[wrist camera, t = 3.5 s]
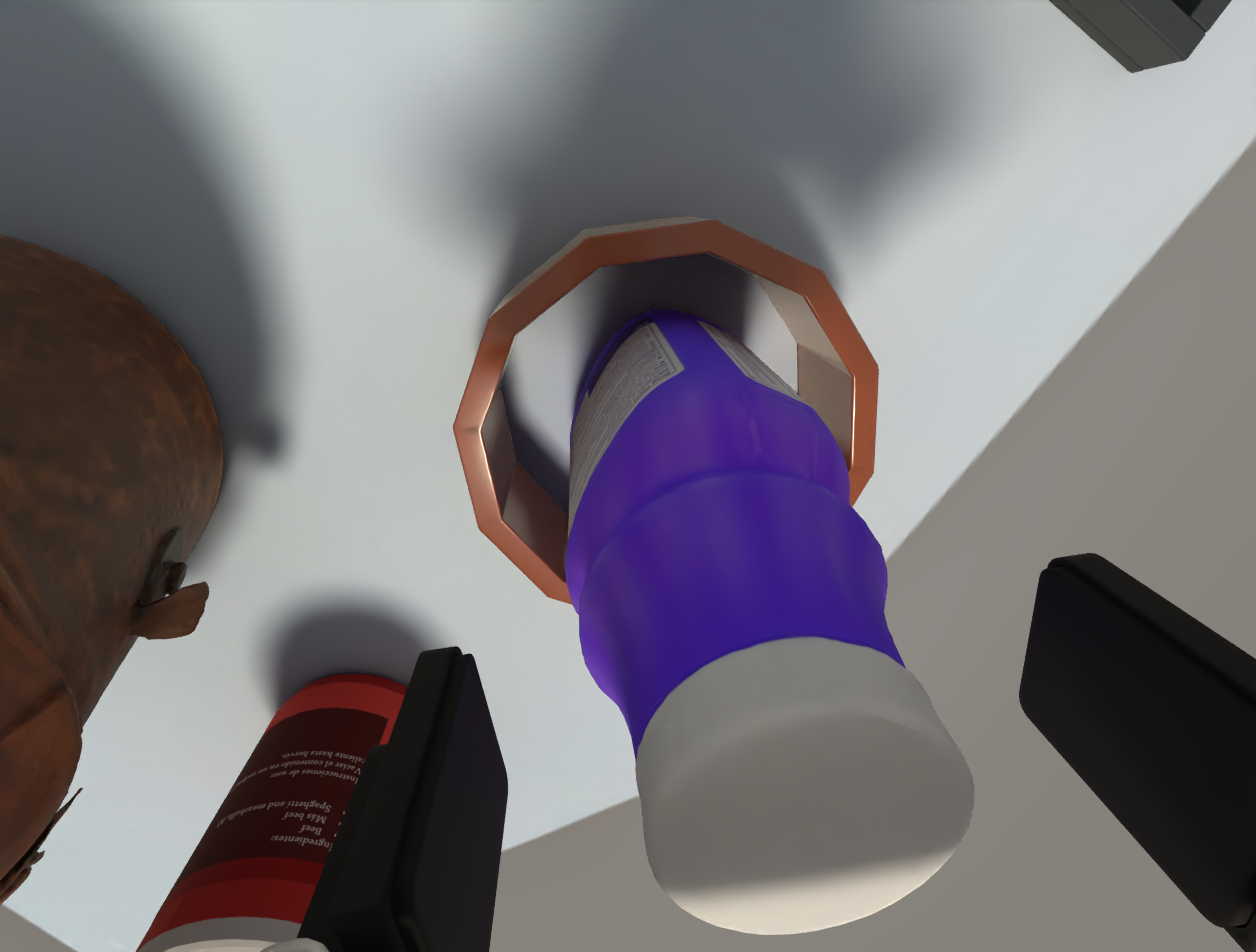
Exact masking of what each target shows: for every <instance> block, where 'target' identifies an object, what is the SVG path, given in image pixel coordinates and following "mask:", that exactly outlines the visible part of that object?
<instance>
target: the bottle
mask: <svg viewBox="0 0 1256 952" xmlns="http://www.w3.org/2000/svg"><path fill="white" fill-rule="evenodd" d="M849 496H850V481H849V475H848V470H847V466H846V462H845V459H844V456H843V454H842V452H841V450H840V448H839V446H838V444H837V442H836V440H835V439H834V437H833V435H832V434H831V432H830V430H829V429H828V427H827V426H826V425H825V423H824V422H823V421H822V419H821V418H820V416H819V415H818V413H817V412H816V411H815V410H814V409H813V408H812V407H811V406H810V405H809V404H808V403H807V402H805V401H804V400H803V399H802V398H801V397H800V396H799V395H798V394H797V393H796V392H795V391H794V390H793V389H792V388H791V387H789V386H788V385H787V384H786V383H785V382H784V381H783V380H782V379H781V378H780V377H779V376H777V375H776V374H775V373H774V372H773V371H772V370H771V369H770V368H769V367H768V366H766V365H765V364H764V363H763V362H762V361H761V360H760V359H759V358H758V357H757V356H756V355H755V354H754V353H752V352H751V351H750V350H749V349H748V348H747V347H746V346H745V345H744V344H743V343H742V342H740V341H739V340H738V339H736V338H735V337H733V336H731V335H730V334H728V333H727V332H726V331H725V330H723V329H722V328H721V327H720V326H719V325H716V324H714V323H712V322H710V321H708V320H706V319H704V318H702V317H700V316H698V315H694V314H690V313H683V312H680V311H677V310H671V309H656V310H650V311H647V312H643V313H641V314H639V315H637V316H635V317H633V318H632V319H630V320H628V321H627V322H626V323H625V324H624V325H623V326H622V327H621V328H620V329H619V330H618V331H617V332H616V333H615V334H614V335H613V337H612V338H611V339H610V340H609V342H608V343H607V345H606V346H605V347H604V349H603V350H602V352H601V353H600V355H599V357H598V358H597V360H596V362H595V364H594V366H593V368H592V369H591V371H590V373H589V375H588V378H587V380H586V382H585V385H584V387H583V389H582V392H581V395H580V398H579V400H578V403H577V406H576V409H575V413H574V417H573V421H572V426H571V433H570V498H569V526H568V543H567V550H566V559H565V573H566V582H567V587H568V591H569V594H570V598H571V601H572V604H573V606H574V608H575V610H576V613H577V614H579V636H580V642H581V647H582V654H583V656H584V660H585V664H586V666H587V668H588V670H589V671H590V673H591V675H592V677H593V678H594V680H595V682H596V683H597V685H598V687H599V688H600V689H601V690H602V691H603V692H604V693H605V694H606V695H607V696H608V697H610V698H611V699H612V700H613V701H614V702H615V703H616V704H617V705H618V707H619V708H620V710H621V712H622V714H623V715H624V718H625V720H626V723H627V725H628V728H629V731H630V734H631V737H632V743H633V748H634V754H635V759H636V781H637V786H638V791H639V795H640V799H641V806H642V817H643V829H644V838H645V844H646V851H647V856H648V861H649V864H650V866H651V869H652V872H653V874H654V877H655V878H656V880H657V882H658V883H659V885H660V887H661V888H662V889H663V890H664V891H665V892H666V893H667V895H668V896H669V897H670V898H671V899H672V900H673V901H674V902H676V903H677V904H678V905H679V906H680V907H681V908H682V909H684V910H685V911H687V912H688V913H690V914H691V915H693V916H695V917H697V918H700V919H702V920H703V921H705V922H708V923H710V924H713V925H715V926H719V927H723V928H727V929H732V930H736V931H740V932H744V933H753V934H761V935H773V934H794V933H804V932H811V931H816V930H821V929H825V928H829V927H833V926H838V925H842V924H845V923H848V922H851V921H854V920H857V919H860V918H863V917H866V916H868V915H871V914H873V913H875V912H877V911H879V910H881V909H883V908H885V907H887V906H889V905H891V904H893V903H895V902H896V901H898V900H899V899H901V898H903V897H904V896H906V895H907V894H908V893H910V892H912V891H913V890H914V889H916V888H917V887H919V886H921V885H922V884H923V883H924V882H925V881H927V880H928V879H929V878H930V877H931V876H932V875H933V874H934V873H935V872H937V871H938V870H939V868H940V867H941V866H942V865H943V864H944V863H945V862H946V861H947V860H948V859H949V858H950V856H951V855H952V854H953V853H954V851H955V849H956V848H957V846H958V844H959V843H960V841H961V839H962V837H963V836H964V834H965V832H966V831H967V829H968V827H969V823H970V820H971V816H972V811H973V807H974V784H973V779H972V775H971V773H970V770H969V767H968V765H967V762H966V760H965V758H964V756H963V754H962V753H961V751H960V750H959V748H958V747H957V745H956V744H955V742H954V741H953V739H952V737H951V736H950V734H949V733H948V731H947V730H946V728H945V727H944V725H943V724H942V722H941V720H940V718H939V717H938V715H937V713H936V711H935V709H934V708H933V706H932V703H931V701H930V699H929V696H928V694H927V693H926V691H925V689H924V688H923V686H922V685H921V683H920V682H919V681H918V680H917V679H916V677H915V676H914V675H912V674H911V673H910V672H909V671H908V670H907V669H906V667H905V665H904V663H903V661H902V659H901V657H900V655H899V653H898V650H897V648H896V646H895V644H894V641H893V638H892V636H891V634H890V632H889V630H888V627H887V623H886V619H885V614H884V607H885V600H886V593H887V586H888V583H887V568H886V564H885V559H884V556H883V553H882V549H881V546H880V544H879V543H878V541H877V540H876V538H875V537H874V535H873V534H872V532H871V531H870V529H869V528H868V526H867V524H866V523H865V521H864V520H863V519H862V518H861V517H860V516H859V515H858V513H857V512H856V511H855V510H854V509H853V508H852V507H851V505H850V500H849Z"/></svg>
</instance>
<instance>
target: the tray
mask: <svg viewBox="0 0 1256 952" xmlns="http://www.w3.org/2000/svg"><path fill="white" fill-rule="evenodd" d="M1050 1H1051V2H1052V3H1053V4H1054V5H1055V6H1057V7H1058V8H1059V9H1060V10H1061V11H1062V12H1063V13H1064V14H1066V15H1067V16H1068V17H1069V18H1070V19H1071V20H1072V21H1073V22H1075V23H1076V24H1077V25H1078V26H1079V27H1080V28H1081V29H1082V30H1084V31H1085V32H1086V33H1087V34H1088V35H1089V36H1090V37H1091V38H1093V39H1094V40H1095V41H1096V42H1097V43H1098V44H1099V45H1100V46H1102V47H1103V48H1104V49H1105V50H1106V51H1107V52H1108V53H1109V54H1111V55H1112V56H1113V57H1114V58H1115V59H1116V60H1117V61H1118V62H1120V63H1121V64H1122V65H1123V66H1124V67H1125V68H1126V69H1127V70H1129V71H1130V72H1131V73H1134V72H1138V71H1143V70H1144V69H1150V68H1154V67H1159V66H1163V65H1167V64H1171V63H1176V62H1180V61H1184V60H1186V59H1187V58H1188V57H1189V56H1190V54H1191V53H1192V52H1193V50H1194V49H1195V48H1196V46H1197V45H1198V44H1199V42H1200V41H1201V40H1202V38H1203V37H1204V36H1205V32H1207V31H1208V30H1209V29H1210V28H1211V27H1212V25H1213V24H1214V23H1215V21H1216V20H1217V19H1218V17H1219V16H1220V15H1221V13H1222V12H1223V11H1224V9H1225V8H1226V7H1227V5H1228V4H1229V3H1230V1H1231V0H1050Z"/></svg>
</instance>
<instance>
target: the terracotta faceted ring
mask: <svg viewBox="0 0 1256 952" xmlns="http://www.w3.org/2000/svg"><path fill="white" fill-rule="evenodd" d="M702 253H706V254H708V255H710V256H712V257H714V258H716V259H719V260H721V261H723V262H725V263H727V264H729V265H732V266H734V267H736V268H738V269H740V270H742V271H745V272H747V273H749V274H751V275H753V276H755V277H757V279H758V281H759V282H760V284H761V285H762V287H763V289H764V290H765V292H766V293H767V295H768V296H769V298H770V300H771V301H772V303H773V304H774V306H775V308H776V309H777V311H778V312H779V314H780V316H781V317H782V319H783V320H784V322H785V323H786V325H787V327H788V328H789V330H790V331H791V333H792V335H793V336H794V338H795V339H796V341H797V342H798V395H799V396H800V397H801V398H802V399H803V400H804V401H805V402H807V403H808V404H809V405H810V406H811V407H812V408H813V409H814V410H815V411H816V412H817V413H818V415H819V416H820V418H821V419H822V421H823V422H824V423H825V425H826V426H827V427H828V429H829V430H830V432H831V434H832V435H833V437H834V439H835V440H836V442H837V444H838V446H839V448H840V450H841V452H842V454H843V456H844V459H845V462H846V466H847V470H848V475H849V481H850V496H849V500H850V505H851V507H853V505H854V504H855V502H856V500H857V499H858V497H859V495H860V494H861V492H862V491H863V489H864V487H865V486H866V484H867V483H868V481H869V479H870V478H871V476H872V474H873V473H874V471H873V470H874V458H875V437H876V416H877V396H878V375H879V369H878V364H877V363H876V361H875V359H874V358H873V356H872V354H871V352H870V351H869V349H868V347H867V345H866V344H865V342H864V340H863V339H862V337H861V335H860V333H859V332H858V330H857V328H856V326H855V325H854V323H853V321H852V320H851V318H850V316H849V314H848V313H847V311H846V309H845V307H844V306H843V304H842V302H841V301H840V299H839V297H838V295H837V294H836V292H835V290H834V288H833V287H832V285H831V283H830V282H829V280H828V278H827V276H826V275H825V273H823V271H822V270H820V269H818V268H816V267H814V266H812V265H809V264H807V263H805V262H803V261H801V260H799V259H797V258H795V257H793V256H791V255H788V254H786V253H784V252H782V251H780V250H778V249H776V248H774V247H772V246H770V245H767V244H765V243H763V242H761V241H759V240H757V239H755V238H753V237H751V236H749V235H746V234H744V233H742V232H740V231H738V230H736V229H734V228H732V227H730V226H728V225H725V224H723V223H721V222H719V221H717V220H712V219H704V218H696V217H688V216H678V217H670V218H663V219H656V220H648V221H641V222H633V223H626V224H619V225H611V226H604V227H596V228H589V229H585V230H583V231H581V232H580V233H579V234H578V235H577V236H575V237H574V238H573V239H572V240H571V241H569V242H568V243H567V244H566V245H564V246H563V247H562V248H561V249H560V250H558V251H557V252H556V253H555V254H554V255H552V256H551V257H550V258H549V259H548V260H546V261H545V262H544V263H543V264H542V265H540V266H539V267H538V268H537V269H536V270H534V271H533V272H532V273H531V274H530V275H528V276H527V277H526V278H525V279H524V280H522V281H521V282H520V283H519V284H518V285H516V286H515V287H514V288H513V289H512V290H510V291H509V292H508V293H507V295H506V296H505V297H504V299H503V300H502V301H501V303H500V304H499V305H498V307H497V308H496V309H495V311H494V312H493V313H492V315H491V316H490V317H489V319H488V322H487V325H486V328H485V331H484V334H483V337H482V340H481V343H480V346H479V349H478V352H477V355H476V358H475V361H474V364H473V367H472V370H471V373H470V376H469V379H468V382H467V385H466V388H465V391H464V394H463V397H462V400H461V403H460V406H459V409H458V412H457V415H456V419H455V422H454V425H453V431H454V435H455V438H456V442H457V446H458V450H459V454H460V458H461V462H462V466H463V470H464V474H465V478H466V482H467V485H468V489H469V493H470V497H471V501H472V505H473V509H474V513H475V517H476V521H477V525H478V528H479V530H480V531H481V532H482V533H483V534H484V535H485V536H486V537H487V538H488V539H489V540H491V541H492V542H493V543H494V544H495V545H496V546H497V547H498V548H499V549H500V550H501V551H502V552H503V553H504V554H505V555H506V556H507V557H508V558H509V559H510V560H511V561H512V562H513V563H514V564H515V565H516V566H517V567H518V568H519V569H520V570H521V571H522V572H523V573H524V574H525V575H526V576H527V577H528V578H529V579H530V580H531V581H532V582H533V583H534V584H535V585H536V586H537V587H538V588H539V589H540V590H541V591H542V592H543V593H544V594H545V595H546V596H547V597H550V598H552V599H555V600H559V601H562V602H566V603H569V604H572V601H571V598H570V594H569V591H568V587H567V582H566V573H565V559H566V550H567V543H568V526H569V513H566V512H565V511H564V510H563V509H562V508H561V507H560V506H559V505H558V504H557V503H556V502H555V500H554V499H553V498H552V497H551V496H550V495H549V494H548V493H547V492H546V491H545V490H544V489H543V487H542V486H541V485H540V484H539V483H538V482H537V481H536V480H535V479H534V478H533V477H532V476H531V475H530V473H529V472H528V471H527V470H526V469H525V468H524V467H523V466H522V465H521V464H520V463H519V462H518V460H517V459H516V456H515V451H514V447H513V442H512V437H511V433H510V428H509V423H508V419H507V414H506V409H505V405H504V400H503V395H502V391H501V386H500V384H501V382H502V379H503V376H504V373H505V370H506V367H507V364H508V362H509V359H510V356H511V353H512V350H513V347H514V345H515V342H516V339H517V336H518V333H519V332H520V331H522V330H523V329H524V328H525V327H526V326H528V325H529V324H530V323H531V322H533V321H534V320H535V319H536V318H538V317H539V316H540V315H541V314H542V313H544V312H545V311H546V310H547V309H549V308H550V307H551V306H552V305H554V304H555V303H556V302H557V301H559V300H560V299H561V298H562V297H563V296H565V295H566V294H567V293H568V292H570V291H571V290H572V289H573V288H575V287H576V286H577V285H578V284H579V283H581V282H582V281H583V280H584V279H586V278H587V277H588V276H589V275H591V274H592V273H593V272H594V271H596V270H597V269H598V268H600V267H607V266H615V265H622V264H629V263H636V262H644V261H651V260H658V259H666V258H673V257H680V256H688V255H695V254H702ZM572 605H573V604H572Z"/></svg>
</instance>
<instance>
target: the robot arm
mask: <svg viewBox="0 0 1256 952" xmlns="http://www.w3.org/2000/svg"><path fill="white" fill-rule="evenodd" d="M1019 699H1020V704H1021V707H1022V709H1023V711H1024V713H1025V714H1026V716H1027V717H1028V718H1029V719H1030V721H1031V722H1032V723H1033V724H1034V725H1035V726H1036V727H1037V728H1038V730H1039V731H1040V732H1041V733H1042V734H1043V735H1044V736H1045V738H1046V739H1047V740H1048V741H1049V742H1050V743H1051V744H1052V745H1053V747H1054V748H1055V749H1056V750H1057V751H1058V752H1059V753H1060V754H1061V756H1062V757H1063V758H1064V759H1065V760H1066V761H1067V762H1068V763H1069V765H1070V766H1071V767H1072V768H1073V769H1074V770H1075V771H1076V773H1078V775H1079V776H1080V777H1081V778H1082V779H1083V781H1084V782H1085V783H1086V784H1087V785H1088V786H1089V787H1090V788H1091V790H1092V791H1093V792H1094V793H1095V794H1096V795H1097V796H1098V798H1099V799H1100V800H1101V801H1102V802H1103V803H1104V804H1105V805H1106V807H1107V808H1108V809H1109V810H1110V811H1111V812H1112V813H1113V814H1114V816H1115V817H1116V818H1117V819H1118V820H1119V821H1120V822H1121V824H1122V825H1123V826H1124V827H1125V828H1126V829H1127V830H1128V831H1129V833H1130V834H1131V835H1132V836H1133V837H1134V838H1135V839H1136V840H1137V842H1138V843H1139V844H1140V845H1141V846H1142V847H1143V848H1144V850H1146V852H1147V853H1148V854H1149V855H1150V856H1151V857H1152V859H1153V860H1154V861H1155V862H1156V863H1157V864H1158V865H1159V866H1160V868H1161V869H1162V870H1163V871H1164V872H1165V873H1166V874H1167V876H1168V877H1169V878H1170V879H1171V880H1172V881H1173V882H1174V884H1175V885H1176V886H1177V887H1178V888H1179V889H1180V890H1181V891H1182V893H1183V894H1184V895H1185V896H1186V897H1187V898H1188V899H1189V900H1190V902H1191V903H1192V904H1193V905H1194V906H1195V907H1196V908H1197V910H1198V911H1199V912H1200V913H1201V914H1202V915H1203V916H1204V917H1205V918H1206V919H1207V920H1209V921H1210V922H1212V923H1213V924H1214V925H1216V926H1219V927H1222V928H1224V929H1225V930H1226V931H1227V932H1228V933H1229V934H1230V935H1231V937H1232V938H1233V939H1234V940H1235V941H1236V942H1237V943H1238V944H1239V945H1240V947H1241V948H1242V949H1243V950H1244V951H1245V952H1256V659H1255V658H1253V657H1252V656H1250V655H1249V654H1247V653H1246V652H1244V651H1243V650H1241V649H1240V648H1238V647H1237V646H1235V645H1234V644H1232V643H1231V642H1229V641H1228V640H1226V639H1225V638H1223V637H1221V636H1220V635H1219V634H1217V633H1216V632H1214V631H1213V630H1211V629H1210V628H1208V627H1207V626H1205V625H1204V624H1202V623H1201V622H1199V621H1198V620H1196V619H1195V618H1193V617H1192V616H1190V615H1189V614H1187V613H1186V612H1184V611H1183V610H1181V609H1180V608H1178V607H1177V606H1175V605H1174V604H1172V603H1171V602H1169V601H1167V600H1166V599H1165V598H1163V597H1162V596H1160V595H1159V594H1157V593H1156V592H1154V591H1153V590H1151V589H1149V588H1148V587H1147V586H1145V585H1144V584H1142V583H1140V582H1139V581H1137V580H1136V579H1134V578H1133V577H1132V576H1130V575H1129V574H1127V573H1125V572H1124V571H1123V570H1121V569H1120V568H1118V567H1117V566H1115V565H1113V564H1112V563H1110V562H1109V561H1108V560H1106V559H1105V558H1103V557H1101V556H1099V555H1097V554H1094V553H1086V554H1079V555H1073V556H1066V557H1060V558H1055V559H1053V560H1052V561H1051V562H1050V563H1049V564H1048V567H1047V569H1045V570H1043V571H1042V572H1041V574H1040V577H1039V583H1038V588H1037V594H1036V600H1035V606H1034V611H1033V617H1032V622H1031V628H1030V634H1029V639H1028V645H1027V651H1026V656H1025V662H1024V667H1023V673H1022V679H1021V685H1020V690H1019ZM507 798H508V780H507V773H506V769H505V765H504V762H503V758H502V755H501V751H500V747H499V744H498V740H497V737H496V733H495V730H494V726H493V723H492V719H491V716H490V712H489V709H488V705H487V702H486V698H485V695H484V691H483V688H482V684H481V680H480V677H479V673H478V670H477V666H476V663H475V660H474V657H473V655H472V654H464V655H462V652H461V650H460V648H459V647H457V646H455V647H449V648H442V649H435V650H428V651H423V652H421V653H420V655H419V657H418V660H417V662H416V665H415V668H414V671H413V674H412V676H411V679H410V682H409V685H408V688H407V691H406V693H405V696H404V699H403V702H402V705H401V707H400V710H399V713H398V716H397V719H396V721H395V724H394V727H393V730H392V733H391V735H390V738H389V741H388V744H382V745H375V746H374V747H373V748H372V749H371V750H370V751H369V753H368V755H367V757H366V759H365V761H364V764H363V767H362V769H361V772H360V774H359V777H358V780H357V782H356V785H355V787H354V790H353V793H352V795H351V798H350V800H349V803H348V805H347V808H346V811H345V813H344V816H343V818H342V821H341V824H340V826H339V829H338V831H337V834H336V837H335V839H334V842H333V844H332V847H331V849H330V852H329V855H328V857H327V860H326V862H325V865H324V868H323V870H322V873H321V875H320V878H319V881H318V883H317V886H316V888H315V891H314V893H313V896H312V899H311V901H310V904H309V906H308V909H307V912H306V914H305V917H304V919H303V922H302V925H301V927H300V930H299V932H298V935H297V937H296V939H287V940H285V941H282V942H279V943H276V944H274V945H271V946H268V947H266V948H265V949H263V950H261V951H260V952H489V947H490V939H491V931H492V923H493V914H494V906H495V898H496V889H497V881H498V873H499V864H500V856H501V848H502V839H503V831H504V823H505V814H506V806H507Z"/></svg>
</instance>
